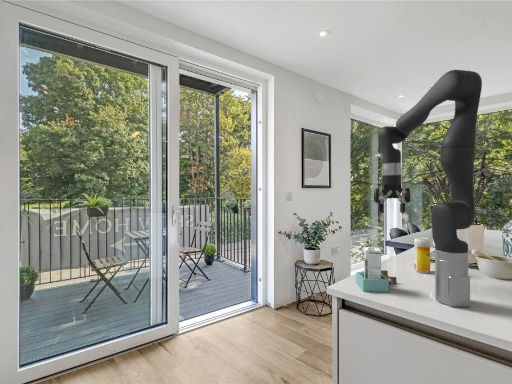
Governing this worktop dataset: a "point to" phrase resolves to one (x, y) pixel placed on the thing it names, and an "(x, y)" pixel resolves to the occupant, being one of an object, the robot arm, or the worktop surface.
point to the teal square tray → (372, 283)
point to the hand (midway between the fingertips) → (391, 212)
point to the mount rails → (391, 279)
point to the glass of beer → (422, 255)
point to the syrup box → (372, 263)
